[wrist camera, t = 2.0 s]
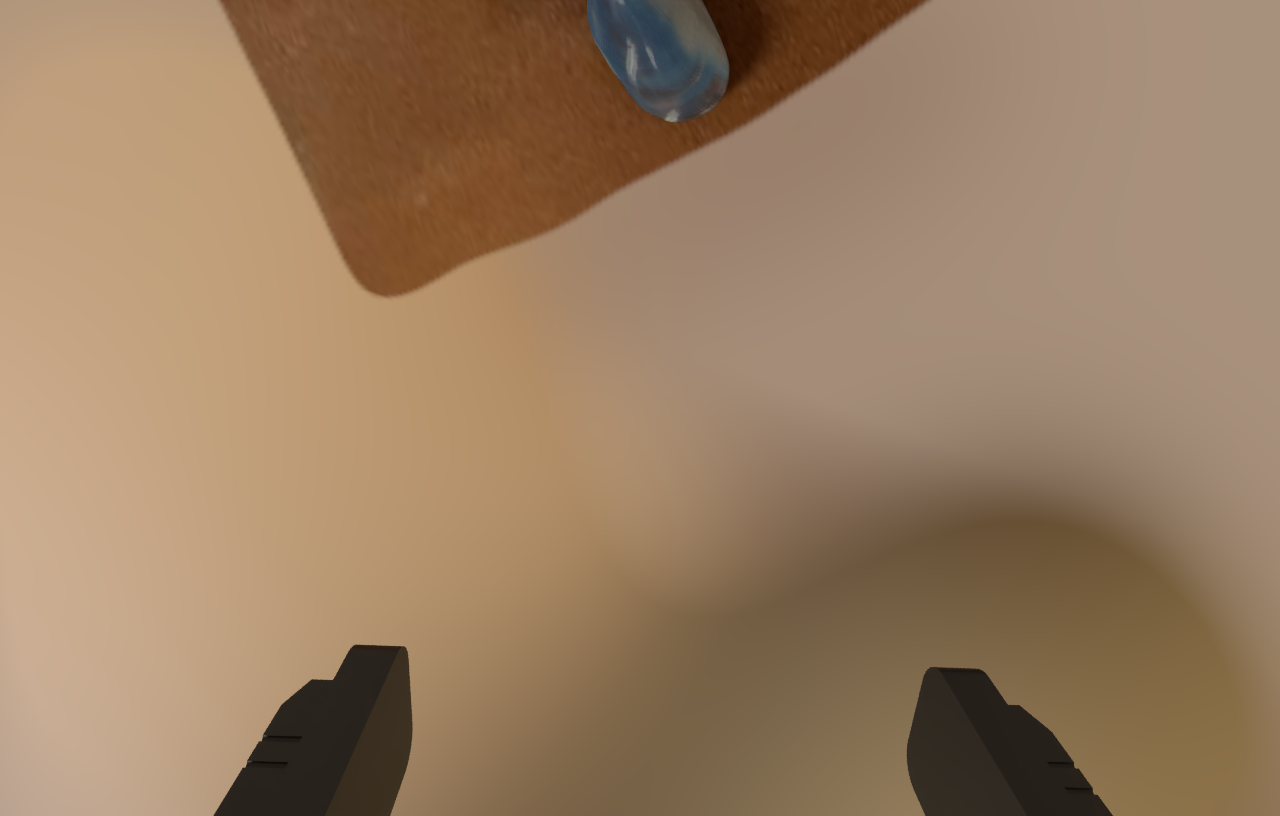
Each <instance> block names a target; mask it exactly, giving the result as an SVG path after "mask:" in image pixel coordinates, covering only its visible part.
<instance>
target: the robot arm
mask: <svg viewBox="0 0 1280 816" xmlns="http://www.w3.org/2000/svg"><path fill="white" fill-rule="evenodd" d="M411 742H412V709H411V692H410V676H409V659H408V652H407V649H406V648H405V647H404V646H377V645H354V646H353V647H352V648H351V649H350V650H349V652H348V654H347V655H346V658H345V659H344V661H343V663H342V665H341V667H340V668H339V670H338V672H337V674H336V676H335V678H334V679H333V680H313V679H312V680H311V681H309V682H308V683H307V684H306V685H305V686H303V687H302V688H301V689H300V690H299V691H297V692H296V693H295V694H294V695H293V696H291V697H290V698H289V699H288V700H287V701H285V702H284V703H283V704H282V705H281V707H280V708H279V710H278V712H277V713H276V715H275V716H274V718H273V720H272V721H271V723H270V724H269V726H268V728H267V729H266V731H265V733H264V734H263V739H262V741H260V742H258V744H257V746H256V748H255V749H254V750H253V752H252V754H251V755H250V757H249V759H248V760H247V765H246V768H242V770H241V772H240V773H239V775H238V777H237V778H236V780H235V782H234V783H233V785H232V787H231V788H230V790H229V791H228V793H227V795H226V796H225V798H224V799H223V801H222V803H221V804H220V806H219V808H218V809H217V811H216V813H215V814H214V816H390V814H391V812H392V809H393V806H394V803H395V800H396V797H397V794H398V791H399V789H400V786H401V783H402V780H403V777H404V774H405V771H406V768H407V764H408V760H409V755H410V749H411ZM907 764H908V771H909V776H910V780H911V783H912V786H913V789H914V791H915V793H916V795H917V798H918V800H919V802H920V804H921V807H922V809H923V811H924V813H925V816H1113V815H1112V814H1111V813H1110V811H1109V810H1108V808H1107V807H1106V806H1105V804H1104V803H1103V802H1102V800H1101V799H1100V797H1099V796H1098V795H1094V794H1093V788H1092V787H1091V785H1090V784H1089V782H1088V781H1087V780H1086V778H1085V777H1084V776H1083V774H1082V773H1081V771H1080V770H1079V769H1075V767H1074V762H1073V761H1072V759H1071V758H1070V756H1069V755H1068V754H1067V752H1066V751H1065V749H1064V748H1063V747H1062V746H1061V744H1060V743H1059V741H1058V740H1057V738H1056V737H1055V736H1054V734H1053V733H1052V732H1051V731H1050V730H1049V729H1048V728H1046V727H1045V726H1044V725H1043V724H1041V723H1040V722H1039V721H1038V720H1037V719H1035V718H1034V717H1033V716H1032V715H1031V714H1029V713H1028V712H1027V711H1026V710H1024V709H1023V708H1022V707H1021V706H1019V705H1008V704H1007V703H1006V702H1005V700H1004V699H1003V697H1002V696H1001V694H1000V693H999V691H998V690H997V689H996V687H995V686H994V684H993V683H992V681H991V680H990V678H989V677H988V676H987V674H986V673H985V672H983V671H982V670H980V669H970V668H942V667H931V668H929V669H928V670H927V671H926V673H925V675H924V677H923V681H922V685H921V689H920V693H919V698H918V702H917V706H916V710H915V714H914V718H913V723H912V727H911V731H910V735H909V739H908V744H907Z"/></svg>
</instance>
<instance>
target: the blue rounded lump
mask: <svg viewBox="0 0 1280 816" xmlns="http://www.w3.org/2000/svg"><path fill="white" fill-rule="evenodd" d="M587 13H588V21H589V25H590V28H591V32H592V35H593V38H594V41H595V43H596V45H597V46H598V48H599V49H600V51H601V52H602V54H603V56H604V57H605V59H606V61H607V63H608V64H609V66H610V67H611V69H612V70H613V72H614V73H615V74H616V76H617V77H618V78H619V79H620V81H621V82H622V83H623V85H624V86H625V88H626V89H627V91H628V92H629V94H630V95H631V96H632V97H633V99H634V100H635V101H636V103H637V104H638V105H639V106H640V107H641V108H642V109H643V110H645V111H646V112H648V113H650V114H652V115H654V116H657V117H660V118H662V119H664V120H666V121H670V122H678V123H679V122H683V121H688V120H692V119H695V118H698V117H700V116H702V115H704V114H706V113H707V112H709V111H710V110H712V109H713V108H714V107H715V106H716V105H717V104H718V103H719V102H720V100H721V99H722V98H723V96H724V94H725V92H726V90H727V86H728V81H729V62H728V58H727V54H726V51H725V48H724V46H723V43H722V41H721V39H720V36H719V34H718V32H717V30H716V27H715V25H714V23H713V21H712V18H711V16H710V15H709V13H708V11H707V9H706V7H705V5H704V3H703V1H702V0H588V1H587Z"/></svg>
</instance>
